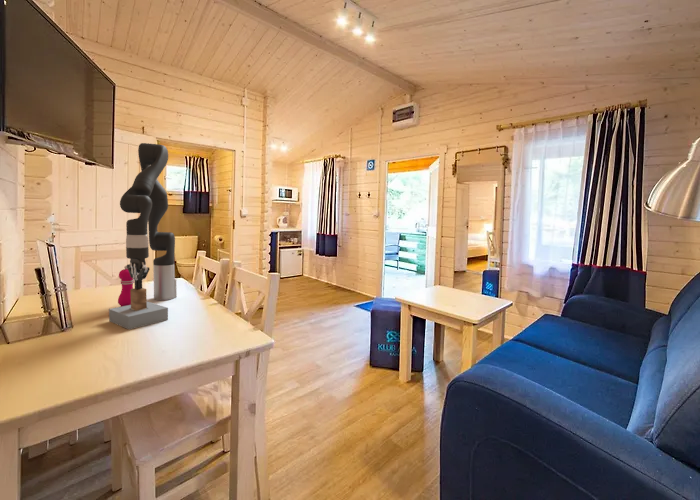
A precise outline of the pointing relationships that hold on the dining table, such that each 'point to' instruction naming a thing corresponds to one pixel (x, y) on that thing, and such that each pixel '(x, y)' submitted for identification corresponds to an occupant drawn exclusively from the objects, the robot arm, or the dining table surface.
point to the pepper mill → (125, 287)
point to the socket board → (138, 315)
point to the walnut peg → (138, 299)
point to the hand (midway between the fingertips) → (138, 288)
